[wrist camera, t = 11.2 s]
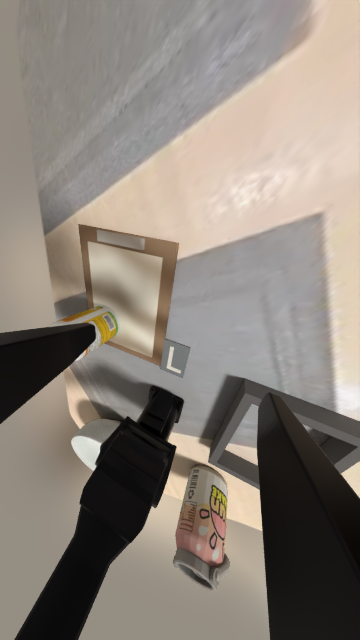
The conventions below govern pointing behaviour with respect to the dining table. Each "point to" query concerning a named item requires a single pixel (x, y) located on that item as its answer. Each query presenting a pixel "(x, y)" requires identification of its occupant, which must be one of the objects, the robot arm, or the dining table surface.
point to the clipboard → (130, 286)
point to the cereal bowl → (92, 439)
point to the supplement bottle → (102, 321)
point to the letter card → (174, 357)
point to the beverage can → (203, 528)
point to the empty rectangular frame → (346, 434)
